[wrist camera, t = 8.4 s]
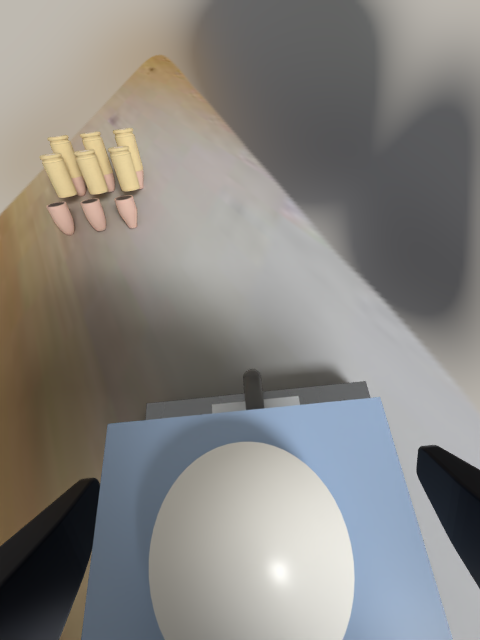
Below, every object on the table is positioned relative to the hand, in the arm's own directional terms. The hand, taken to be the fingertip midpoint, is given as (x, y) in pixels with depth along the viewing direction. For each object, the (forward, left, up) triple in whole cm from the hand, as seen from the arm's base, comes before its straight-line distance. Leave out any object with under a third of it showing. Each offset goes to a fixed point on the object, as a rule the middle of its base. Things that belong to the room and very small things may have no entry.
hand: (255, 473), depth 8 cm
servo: (-1, -1, -8) cm, 8 cm away
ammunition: (+12, +23, -9) cm, 27 cm away
